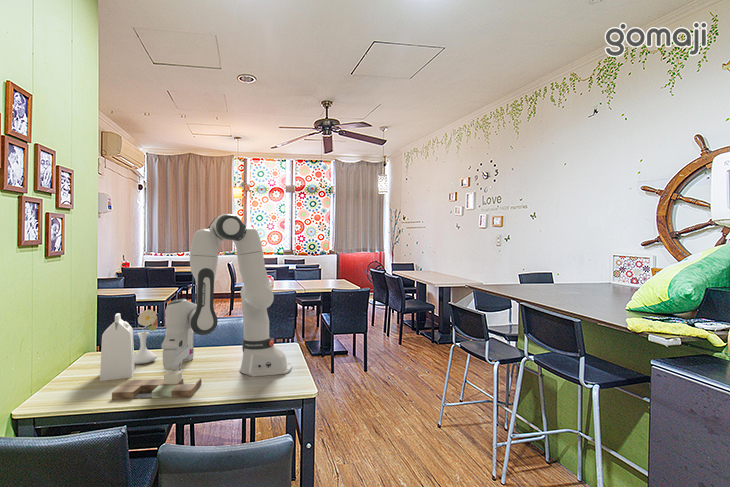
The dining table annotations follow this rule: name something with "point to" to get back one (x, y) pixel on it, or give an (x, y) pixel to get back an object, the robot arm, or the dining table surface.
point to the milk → (117, 351)
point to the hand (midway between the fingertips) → (177, 372)
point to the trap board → (154, 389)
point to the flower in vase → (144, 353)
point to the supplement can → (190, 347)
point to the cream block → (172, 377)
